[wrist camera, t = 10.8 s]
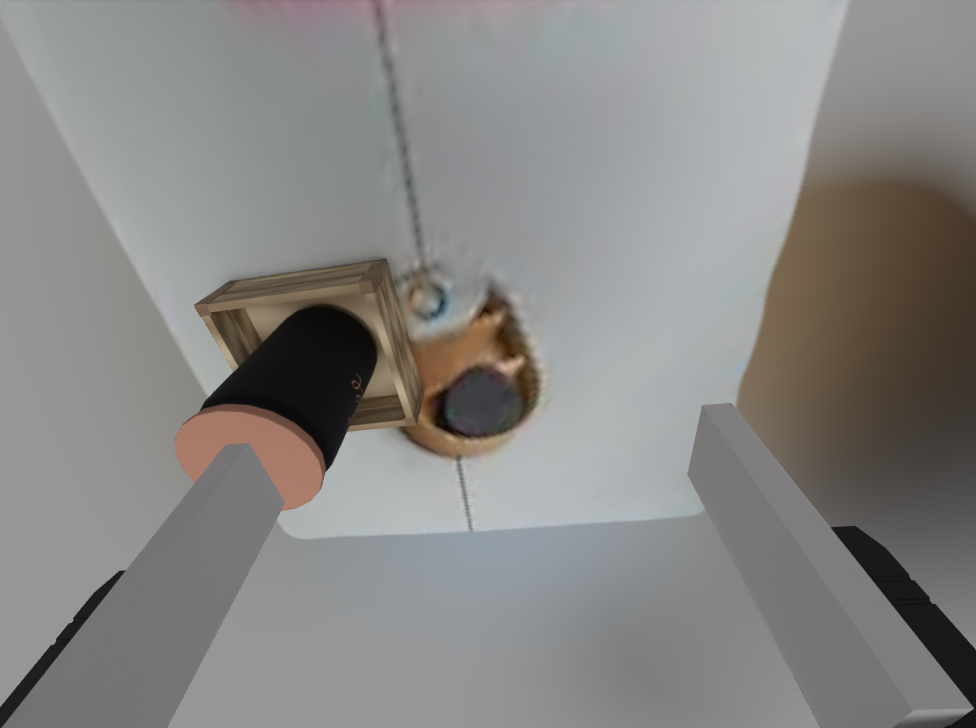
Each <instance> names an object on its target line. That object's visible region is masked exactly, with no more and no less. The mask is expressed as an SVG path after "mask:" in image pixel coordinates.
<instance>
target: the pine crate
mask: <svg viewBox="0 0 976 728" xmlns="http://www.w3.org/2000/svg"><path fill="white" fill-rule="evenodd" d="M194 307H195V308H196V310H197V312H198V314H199V315H200V317H202V319H203V320H204V322H205V324H206V326H207V327H208V329H209V331H210V332H211V334H212V336H213V338H214V339H215V341H216V343H217V344H218V346H219V348H220V350H221V351H222V353H223V355H224V356H225V358H226V360H227V362H228V363H229V365H230V367H231V368H232V370H233V372H234V371H235V370H236V369H237V368H238V367H239V366H240V365H241V364H242V363H243V362H244V361H245V360H246V359H247V358H248V357H249V356H250V355H251V354H252V353H253V352H254V351H255V350H256V349H257V348H258V347H259V346H260V345H261V344H262V343H263V342H264V341H265V340H266V338H267V337H268V336H269V335H270V334H271V333H272V332H273V331H274V330H275V329H276V328H277V327H278V326H279V325H280V324H281V323H282V322H283V321H284V320H285V319H286V318H288V317H289V316H290V315H292V314H293V313H295V312H296V311H298V310H302V309H306V308H310V307H326V308H332V309H335V310H338V311H341V312H344V313H346V314H348V315H349V316H351V317H353V318H354V319H356V320H357V321H358V322H359V323H360V324H361V325H362V326H363V327H364V328H365V329H366V330H367V331H368V332H369V334H370V336H371V338H372V340H373V342H374V344H375V347H376V355H377V363H376V366H375V370H374V373H373V375H372V377H371V380H370V382H369V384H368V386H367V388H366V391H365V393H364V395H363V397H362V399H361V402H360V404H359V406H358V408H357V411H356V413H355V415H354V417H353V419H352V422H351V424H350V426H349V428H348V430H347V432H349V431H359V430H368V429H378V428H388V427H397V426H413V425H417V421H418V417H419V413H420V409H421V405H422V401H423V397H424V390H423V386H422V383H421V379H420V376H419V372H418V369H417V365H416V362H415V358H414V355H413V351H412V348H411V344H410V341H409V337H408V334H407V330H406V327H405V323H404V320H403V316H402V313H401V309H400V306H399V303H398V299H397V296H396V292H395V289H394V285H393V282H392V278H391V275H390V271H389V268H388V264H387V261H386V259H383V260H376V261H369V262H362V263H355V264H348V265H341V266H334V267H327V268H320V269H313V270H306V271H299V272H292V273H285V274H278V275H271V276H264V277H257V278H250V279H243V280H236V281H229V282H228V283H226V284H225V285H223V286H222V287H220V288H219V289H217V290H216V291H214V292H213V293H211V294H210V295H208V296H207V297H205V298H204V299H202V300H201V301H199V302H198V303H196V304H195V305H194Z"/></svg>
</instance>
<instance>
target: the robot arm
mask: <svg viewBox="0 0 976 728" xmlns="http://www.w3.org/2000/svg"><path fill="white" fill-rule="evenodd" d="M688 476H689V478H690V480H691V482H692V484H693V486H694V488H695V490H696V492H697V494H698V495H699V497H700V499H701V501H702V503H703V505H704V507H705V509H706V511H707V513H708V515H709V516H710V518H711V520H712V522H713V524H714V526H715V528H716V530H717V532H718V534H719V535H720V537H721V539H722V541H723V543H724V545H725V547H726V549H727V551H728V553H729V554H730V557H731V558H732V560H733V562H734V564H735V566H736V568H737V570H738V572H739V574H740V575H741V577H742V579H743V581H744V583H745V585H746V587H747V589H748V591H749V593H750V595H751V597H752V599H753V600H754V602H755V604H756V606H757V608H758V610H759V612H760V614H761V616H762V618H763V619H764V621H765V623H766V625H767V627H768V629H769V631H770V633H771V635H772V637H773V639H774V640H775V642H776V644H777V646H778V648H779V650H780V652H781V654H782V656H783V658H784V660H785V661H786V663H787V665H788V667H789V669H790V671H791V673H792V675H793V677H794V679H795V681H796V682H797V684H798V686H799V688H800V690H801V692H802V694H803V696H804V698H805V700H806V702H807V703H808V705H809V707H810V709H811V711H812V713H813V715H814V717H815V719H816V720H817V723H818V724H819V726H820V728H976V650H975V648H974V647H973V646H972V645H971V644H970V643H969V642H968V641H967V639H966V638H965V637H964V636H963V635H962V634H961V633H960V632H959V630H958V629H957V628H956V627H955V626H954V625H953V624H952V622H951V621H950V620H949V619H948V618H947V617H946V616H945V615H944V614H943V612H942V611H941V610H940V609H939V608H938V607H937V605H936V604H932V603H931V602H930V598H929V596H928V595H927V594H926V593H925V592H924V591H923V590H922V589H921V587H920V586H919V585H918V584H917V583H916V582H915V581H914V580H911V579H910V577H909V574H908V573H907V572H906V570H905V569H904V568H903V567H902V566H901V565H900V564H899V562H898V561H897V560H896V559H895V558H894V557H893V556H892V555H891V554H890V552H889V551H888V550H887V549H886V548H885V547H884V546H882V545H881V544H880V543H878V542H877V541H875V540H874V539H873V538H871V537H870V536H868V535H867V534H866V533H864V532H863V531H862V530H860V529H859V528H857V527H856V526H845V527H829V525H828V524H827V523H826V522H825V520H824V519H823V518H822V517H821V516H820V514H819V513H818V512H817V510H816V509H815V508H814V507H813V506H812V504H811V503H810V502H809V500H808V499H807V498H806V496H805V495H804V494H803V493H802V491H801V490H800V489H799V488H798V487H797V485H796V484H795V483H794V481H793V480H792V479H791V478H790V476H789V475H788V474H787V473H786V472H785V470H784V469H783V468H782V466H781V465H780V464H779V463H778V461H777V460H776V459H775V458H774V456H773V455H772V454H771V453H770V451H769V450H768V449H767V448H766V446H765V445H764V444H763V442H762V441H761V440H760V439H759V437H758V436H757V435H756V434H755V432H754V431H753V430H752V429H751V428H750V426H749V425H748V424H747V422H746V421H745V420H744V419H743V417H742V416H741V415H740V414H739V412H738V411H737V410H736V409H735V407H734V406H733V405H732V404H731V403H725V404H713V405H702V409H701V413H700V418H699V423H698V427H697V432H696V437H695V442H694V446H693V451H692V456H691V460H690V465H689V470H688ZM284 504H285V502H284V500H283V498H282V497H281V495H280V493H279V492H278V490H277V488H276V487H275V485H274V483H273V482H272V480H271V478H270V477H269V475H268V473H267V472H266V470H265V468H264V467H263V465H262V463H261V461H260V460H259V458H258V456H257V455H256V453H255V451H254V450H253V448H252V446H251V445H250V443H242V444H230V445H225V446H224V447H223V448H222V450H221V451H220V452H219V453H218V455H217V456H216V457H215V459H214V460H213V461H212V462H211V464H210V465H209V466H208V467H207V469H206V470H205V471H204V472H203V474H202V475H201V476H200V477H199V479H198V480H197V481H196V483H195V484H194V485H193V486H192V488H191V489H190V490H189V492H188V493H187V494H186V495H185V497H184V498H183V499H182V500H181V502H180V503H179V504H178V505H177V507H176V508H175V509H174V510H173V512H172V513H171V514H170V515H169V517H168V518H167V519H166V521H165V522H164V523H163V524H162V526H161V527H160V528H159V529H158V531H157V532H156V533H155V535H154V536H153V537H152V538H151V539H150V541H149V542H148V543H147V545H146V546H145V547H144V548H143V550H142V551H141V552H140V553H139V555H138V556H137V557H136V558H135V560H134V561H133V562H132V564H131V565H130V566H129V567H128V569H127V570H125V571H119V572H118V573H117V574H115V575H114V576H113V577H112V578H111V579H110V580H108V581H107V582H106V583H105V584H104V585H103V586H102V587H100V588H99V589H98V590H97V591H96V592H94V594H93V595H92V596H91V597H90V598H89V600H88V601H87V602H86V603H85V604H84V606H83V607H82V608H81V609H80V611H79V612H78V613H77V614H76V615H75V617H74V618H73V619H74V620H73V622H72V623H69V624H68V625H67V626H66V628H65V629H64V630H63V631H62V632H61V634H60V635H59V636H58V637H57V639H56V643H55V644H54V645H51V646H50V647H49V648H48V650H47V651H46V652H45V653H44V654H43V656H42V657H41V658H40V660H39V661H38V662H37V663H36V664H35V665H34V667H33V668H32V669H31V670H30V671H29V673H28V674H27V675H26V676H25V678H24V679H23V680H22V681H21V683H20V684H19V685H18V686H17V687H16V689H15V690H14V691H13V692H12V694H11V695H10V696H9V697H8V698H7V700H6V701H5V702H4V703H3V704H2V706H1V707H0V728H167V727H168V725H169V723H170V721H171V719H172V718H173V716H174V714H175V712H176V710H177V708H178V706H179V704H180V702H181V701H182V699H183V697H184V695H185V693H186V691H187V689H188V687H189V685H190V683H191V681H192V680H193V678H194V676H195V674H196V672H197V670H198V668H199V666H200V664H201V662H202V660H203V659H204V657H205V655H206V653H207V651H208V649H209V647H210V645H211V643H212V641H213V640H214V638H215V636H216V634H217V632H218V630H219V628H220V626H221V624H222V622H223V620H224V618H225V617H226V615H227V613H228V611H229V609H230V607H231V605H232V603H233V601H234V600H235V597H236V596H237V594H238V592H239V590H240V588H241V586H242V584H243V582H244V580H245V579H246V576H247V575H248V573H249V571H250V569H251V567H252V565H253V563H254V561H255V559H256V558H257V555H258V554H259V552H260V550H261V548H262V546H263V544H264V542H265V540H266V538H267V537H268V535H269V533H270V531H271V529H272V527H273V525H274V523H275V521H276V519H277V518H278V516H279V514H280V512H281V510H282V508H283V506H284Z"/></svg>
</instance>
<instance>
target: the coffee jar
mask: <svg viewBox="0 0 976 728" xmlns="http://www.w3.org/2000/svg"><path fill="white" fill-rule="evenodd" d="M376 363H377V355H376V347H375V344H374V342H373V340H372V338H371V336H370V334H369V332H368V331H367V330H366V329H365V328H364V327H363V326H362V325H361V324H360V323H359V322H358V321H357V320H356V319H354V318H353V317H351V316H349V315H348V314H346V313H344V312H341V311H338V310H335V309H332V308H326V307H310V308H306V309H302V310H298V311H296V312H295V313H293V314H292V315H290V316H289V317H288V318H286V319H285V320H284V321H283V322H282V323H281V324H280V325H279V326H278V327H277V328H276V329H275V330H274V331H273V332H272V333H271V334H270V335H269V336H268V337H267V338H266V340H265V341H264V342H263V343H262V344H261V345H260V346H259V347H258V348H257V349H256V350H255V351H254V352H253V353H252V354H251V355H250V356H249V357H248V358H247V359H246V360H245V361H244V362H243V363H242V364H241V365H240V366H239V367H238V368H237V369H236V370H235V371H234V372H233V373H232V374H231V375H230V376H229V377H228V378H227V379H226V380H225V381H224V382H223V383H222V384H221V385H220V386H219V387H218V388H217V389H216V390H215V391H214V392H213V393H212V395H211V396H210V397H209V398H208V399H207V400H206V401H205V402H204V404H203V406H202V408H201V410H200V412H198V413H197V414H195V415H194V416H193V417H191V418H190V419H188V420H187V421H186V422H185V423H184V424H183V425H182V427H181V428H180V430H179V433H178V434H177V436H176V438H175V449H176V456H177V458H178V460H179V462H180V464H181V466H182V468H183V470H184V471H185V472H186V473H187V474H188V476H189V477H190V478H191V479H192V480H193V481H194V482H195V483H196V481H197V480H198V479H199V477H200V476H201V475H202V474H203V472H204V471H205V470H206V469H207V467H208V466H209V465H210V464H211V462H212V461H213V460H214V459H215V457H216V456H217V455H218V453H219V452H220V451H221V450H222V448H223V447H224V446H225V445H230V444H242V443H250V445H251V446H252V448H253V450H254V451H255V453H256V455H257V456H258V458H259V460H260V461H261V463H262V465H263V467H264V468H265V470H266V472H267V473H268V475H269V477H270V478H271V480H272V482H273V483H274V485H275V487H276V488H277V490H278V492H279V493H280V495H281V497H282V498H283V500H284V502H285V504H284V506H283V508H282V510H281V511H284V510H289V509H295V508H298V507H300V506H302V505H304V504H306V503H308V502H310V501H311V500H312V499H313V498H314V496H315V495H316V494H317V493H318V492H319V491H320V489H321V487H322V484H323V480H324V476H325V472H326V471H327V470H328V469H329V468H330V466H331V465H332V464H333V461H334V459H335V457H336V455H337V452H338V450H339V448H340V446H341V444H342V441H343V439H344V437H345V435H346V433H347V430H348V428H349V426H350V424H351V422H352V419H353V417H354V415H355V413H356V411H357V408H358V406H359V404H360V402H361V399H362V397H363V395H364V393H365V391H366V388H367V386H368V384H369V382H370V380H371V377H372V375H373V373H374V370H375V366H376Z"/></svg>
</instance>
